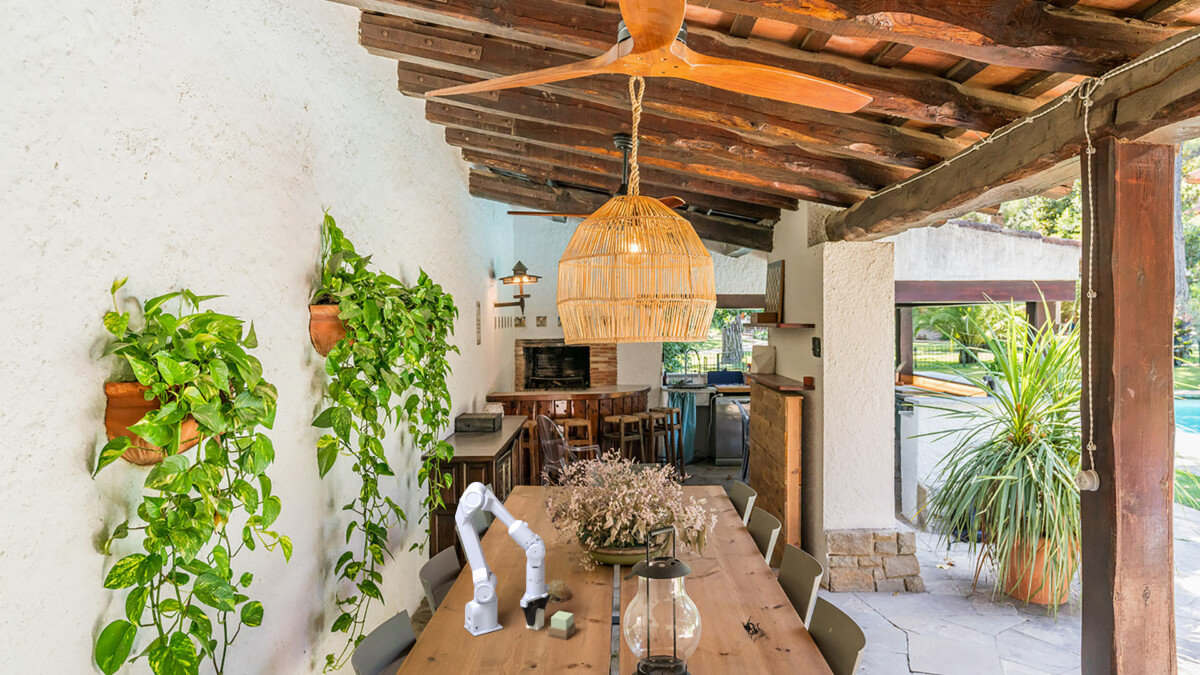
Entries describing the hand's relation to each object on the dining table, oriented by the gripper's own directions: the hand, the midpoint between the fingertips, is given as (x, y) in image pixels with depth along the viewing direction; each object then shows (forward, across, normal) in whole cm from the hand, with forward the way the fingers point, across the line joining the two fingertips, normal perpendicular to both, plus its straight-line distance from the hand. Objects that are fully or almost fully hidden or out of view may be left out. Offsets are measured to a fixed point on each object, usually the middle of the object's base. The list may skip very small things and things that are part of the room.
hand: (535, 621), depth 204 cm
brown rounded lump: (+2, +23, +6) cm, 24 cm away
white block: (+2, 0, 0) cm, 2 cm away
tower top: (-1, -1, -10) cm, 10 cm away
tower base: (+2, -1, -10) cm, 10 cm away
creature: (+2, +22, -64) cm, 67 cm away
